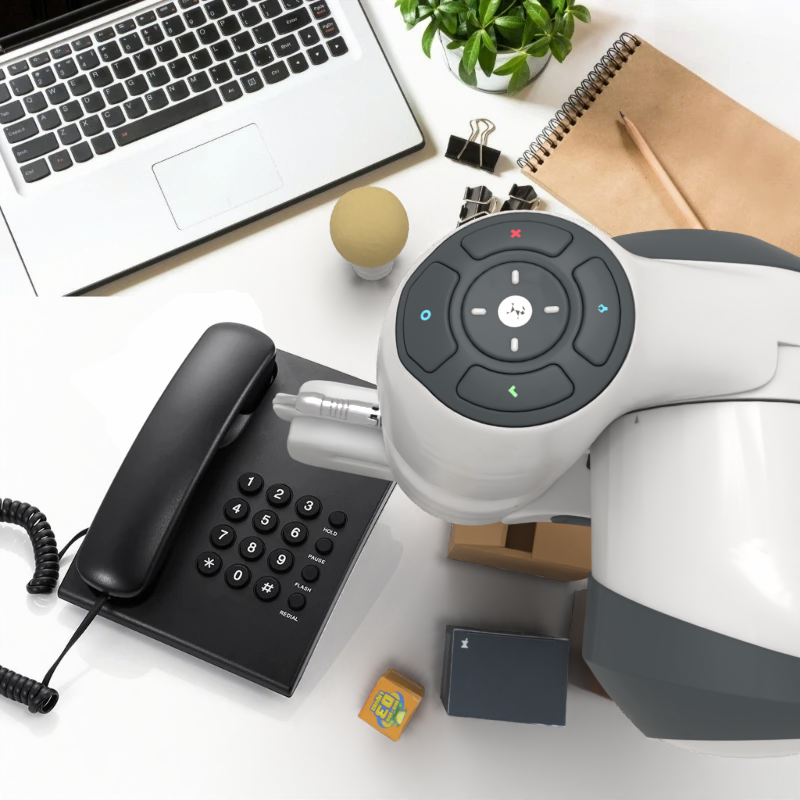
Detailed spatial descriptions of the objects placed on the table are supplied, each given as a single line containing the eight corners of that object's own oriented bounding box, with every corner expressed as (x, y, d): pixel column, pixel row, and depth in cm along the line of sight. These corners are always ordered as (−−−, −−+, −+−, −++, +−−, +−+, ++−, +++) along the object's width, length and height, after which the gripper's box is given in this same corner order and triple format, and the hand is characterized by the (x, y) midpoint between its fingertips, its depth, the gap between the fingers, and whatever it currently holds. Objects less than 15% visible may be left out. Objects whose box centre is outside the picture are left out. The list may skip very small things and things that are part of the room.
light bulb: (334, 234, 72) (323, 175, 62) (405, 228, 72) (404, 167, 63) (339, 300, 70) (329, 250, 61) (412, 293, 71) (413, 242, 61)
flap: (457, 544, 53) (453, 542, 53) (478, 429, 55) (473, 427, 55) (504, 546, 49) (499, 545, 49) (524, 422, 51) (520, 421, 51)
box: (439, 700, 62) (445, 716, 51) (445, 624, 63) (452, 625, 53) (541, 710, 61) (567, 729, 51) (545, 634, 63) (571, 637, 53)
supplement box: (387, 663, 62) (383, 671, 53) (425, 687, 62) (428, 700, 52) (364, 702, 62) (356, 717, 52) (403, 727, 61) (402, 747, 52)
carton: (446, 557, 64) (454, 544, 53) (463, 461, 67) (475, 427, 55) (570, 582, 64) (606, 574, 52) (583, 484, 66) (622, 455, 54)
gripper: (250, 453, 39) (291, 495, 52) (674, 535, 38) (604, 557, 51) (280, 332, 40) (312, 403, 54) (688, 407, 39) (617, 460, 53)
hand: (457, 478), depth 52 cm, fingers closed
